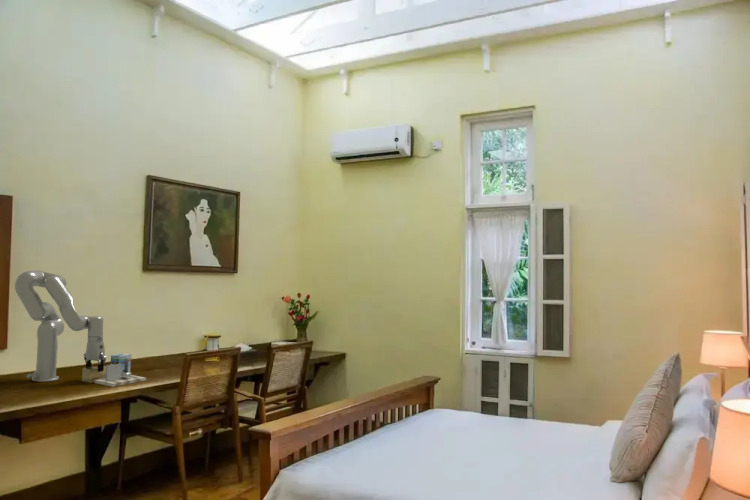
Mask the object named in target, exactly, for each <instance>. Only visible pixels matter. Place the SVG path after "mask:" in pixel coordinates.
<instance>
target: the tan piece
mask: <svg viewBox="0 0 750 500" xmlns="http://www.w3.org/2000/svg"><path fill="white" fill-rule="evenodd" d="M106 366H107V365H104V371H102V372H98V366H92V367H86V366H85V367H82V371H81V374H82V375H81V382H85V383H93V382H94V383H95V380H99V379H105V378H106Z"/></svg>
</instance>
